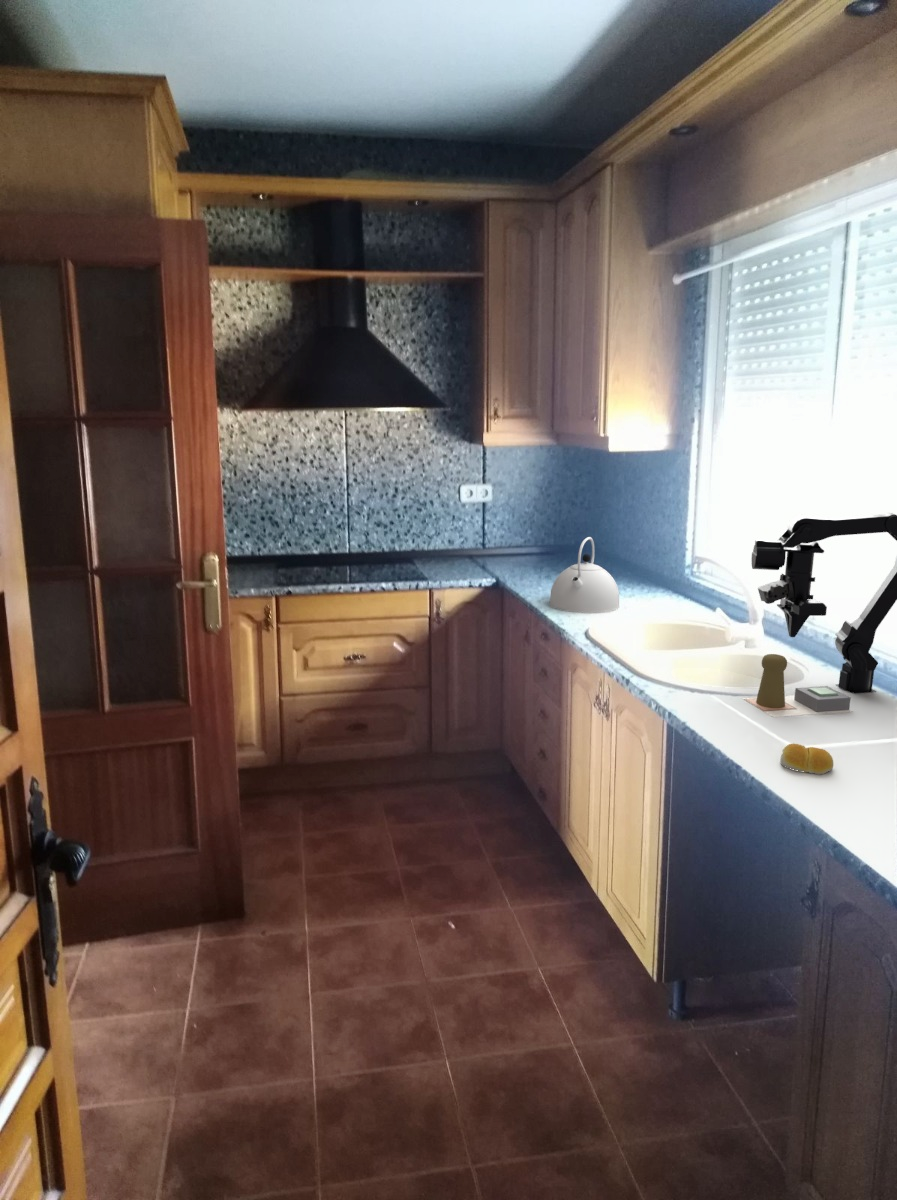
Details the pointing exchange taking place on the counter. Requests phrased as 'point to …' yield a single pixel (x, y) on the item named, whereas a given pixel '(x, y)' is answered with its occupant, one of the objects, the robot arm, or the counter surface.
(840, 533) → the robot arm
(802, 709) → the picture board
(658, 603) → the counter surface
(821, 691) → the button
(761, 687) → the cork
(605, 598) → the kettle
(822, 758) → the bread roll
